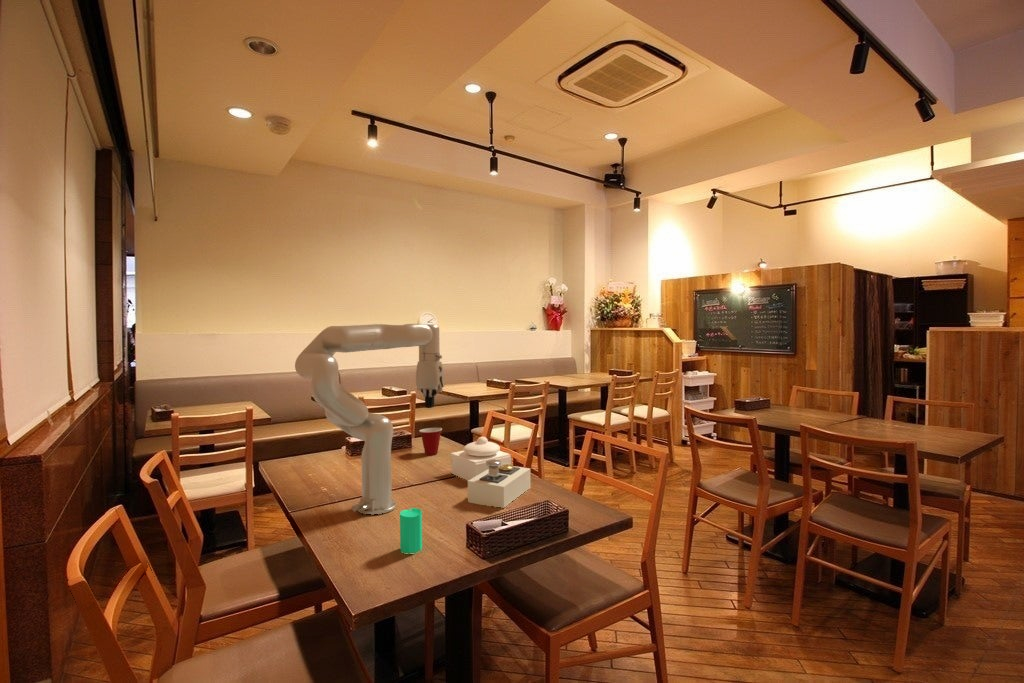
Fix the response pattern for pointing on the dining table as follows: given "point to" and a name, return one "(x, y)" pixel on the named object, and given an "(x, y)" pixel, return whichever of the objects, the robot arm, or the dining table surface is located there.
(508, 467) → the brass-capped peg
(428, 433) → the plastic cup
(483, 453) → the butter dish
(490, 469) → the grey peg
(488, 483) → the socket block
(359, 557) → the dining table surface
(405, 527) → the candle
